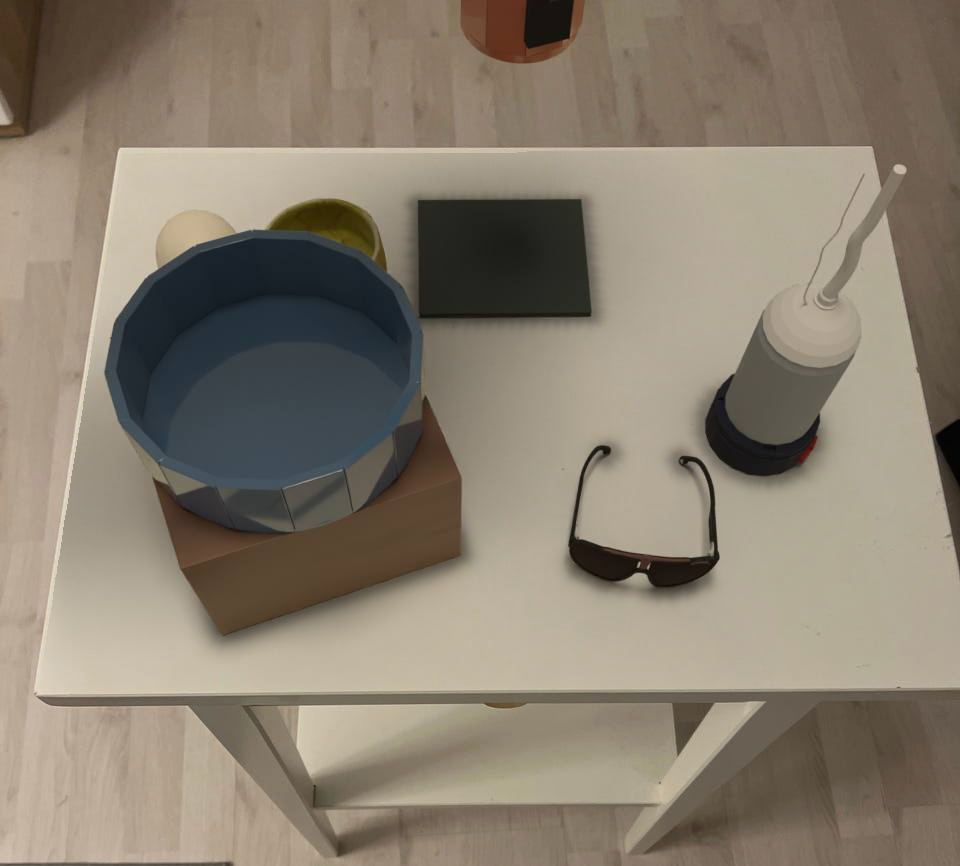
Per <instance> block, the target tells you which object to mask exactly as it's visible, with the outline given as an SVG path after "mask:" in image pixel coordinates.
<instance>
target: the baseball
mask: <svg viewBox="0 0 960 866" xmlns="http://www.w3.org/2000/svg"><path fill="white" fill-rule="evenodd" d="M237 233H238V232H237V231H236V229H235V228H234V226H232V225H231V224H230V223H229V222H228V221H227V220H226V219H224V217H221V215H219V214H217V213H214V212H211V211H209V210H202V209H190V210H189V209H188V210H184V211H182V212H179V213H177V214H175V215H173V216H171V217H170V218H169V219H168V220H167V221H166V222H165V223H164V225H163V226H162V228H161V229H160V231H159V233H158V235H157V238H156V242H155V261H156V265H157V270H158V269H159V268H161V267H162V266H164V265H165V264H167V263H168V262H170V261H171V260H173V259H174V258H176V257H177V256H179V255H180V254H182V253H183V252H185V251H186V250H188V249H189V248H191V247H192V246H195V245H196V244H200V243H204V242H207V241H211V240H215V239H219V238H222V237H226V236H230V235H233V234H237Z"/></svg>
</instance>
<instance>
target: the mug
mask: <svg viewBox="0 0 960 866" xmlns="http://www.w3.org/2000/svg"><path fill="white" fill-rule="evenodd" d="M264 230H281V231H308V232H310V233H311V232H313V233H315V234H318V235H321V236H323V237H326V238H329V239H331V240H334V241H337V242H339V243H342V244H345V245H347V246H350V247H353V248H355V249H358V250H361V251H362V252H364V253H366V254H367V255H368V256H369V257H370V258H371V259H372V260H374V261H375V262H376V263H377V264H378V265H379V266H380V267H381V268H383V269H384V270H385V271H386V272H387V273H388V266H387V258H386V252H385V249H384V245H383V241H382V237H381V234H380V231H379V226H378V225H377V224H376V222H375V221H374V219H373V217H372V215H371V214H370V213H369V212H368V211H367V210H366V209H364V208H363V207H361V206H359V205H357V204H355V203H353V202H351V201H348V200H344V199H340V198H333V197H331V198H329V197H328V198H326V197H324V198H322V197H321V198H320V197H319V198H318V197H317V198H312V199H308V200H304V201H301V202H298V203H296V204H293V205H291V206H289V207H287V208H285V209H283V210H282V211H280V212H279V213H278V214H276V216H275V217H274V218H273V219H272V220H271V221H270V222H268V225H267V226H265V229H264Z"/></svg>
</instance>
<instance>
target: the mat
mask: <svg viewBox="0 0 960 866" xmlns="http://www.w3.org/2000/svg"><path fill="white" fill-rule="evenodd" d="M583 212H584V211H583V204H582V198H538V199H537V198H534V199H533V198H532V199H531V198H530V199H529V198H528V199H527V198H525V199H524V198H521V199H520V198H519V199H518V198H517V199H516V198H515V199H513V198H512V199H511V198H509V199H507V198H506V199H505V198H504V199H503V198H501V199H500V198H499V199H418V200H417V218H418V219H417V228H418V229H417V230H418V234H417V236H418V239H417V240H418V241H417V242H418V300H419V301H418V302H419V303H418V305H419V306H418V308H419V309H418V312H419V315H418V316H419V318H420V319H424V318H425V319H426V318H427V319H428V318H429V319H430V318H433V319H434V318H437V319H439V318H530V317H531V318H533V317H534V318H535V317H536V318H539V317H541V318H542V317H543V318H545V317H546V318H547V317H550V318H551V317H591V316H592V313H593V312H592V299H591V289H590V280H589V268H588V267H589V266H588V258H587V256H588V255H587V248H586V247H587V246H586V235H585V225H584V224H585V223H584V213H583Z"/></svg>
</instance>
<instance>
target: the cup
mask: <svg viewBox="0 0 960 866" xmlns="http://www.w3.org/2000/svg"><path fill="white" fill-rule="evenodd" d="M526 1H527V0H458V3H459V4H458V5H459V25H460V28H461V31H462V33H463V36H464V37H465V39H466V40H467V41H468V42H469V44H470V45H471V46H472V47H473V48H474V49H476V50H477V51H479V52H480V53H482V54H483V55H485V56H487V57H489V58H491V59H494V60H497V61H501V62H504V63H509V64H520V65H523V64H524V65H525V64H528V65H529V64H537V63H541V62H544V61H548V60H551V59H553V58H555V57H557V56H559V55H561V54H562V53H563V52H565V51H566V50H568V48H570V46H571V45H572V44H573V43H574V41H575V40H576V38H577V36H578V33H579V30H580V27H582V24H583V19H584V11H585V3H586V0H574V6H573V14H572V23H571V31H570V39H566V40H562V41H558V42H554V43H551V44H547V45H543V46H539V47H535V48H531V49H528V48H527V46H526V44H525V42H524V29H525V15H526Z"/></svg>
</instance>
